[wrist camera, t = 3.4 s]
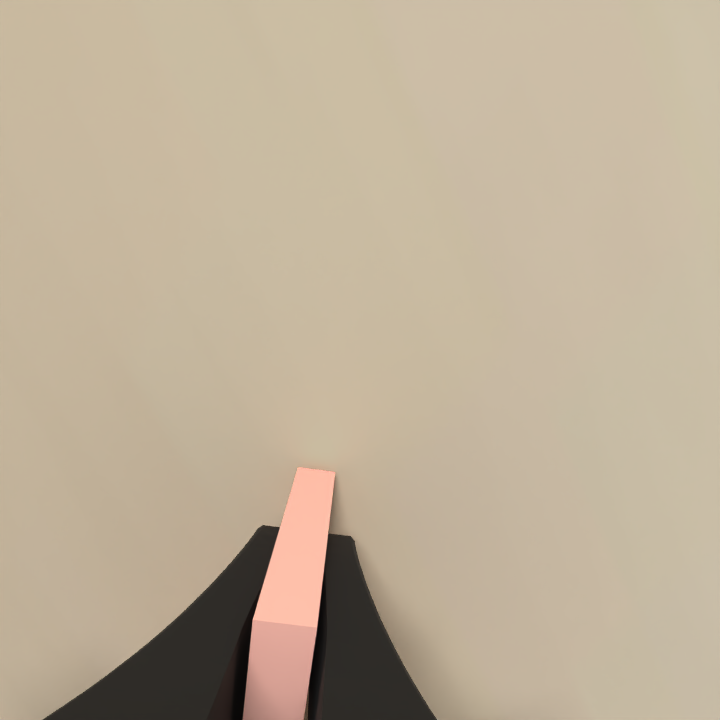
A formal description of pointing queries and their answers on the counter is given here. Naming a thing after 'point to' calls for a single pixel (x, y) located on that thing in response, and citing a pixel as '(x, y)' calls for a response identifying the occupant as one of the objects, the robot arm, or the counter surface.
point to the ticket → (290, 604)
